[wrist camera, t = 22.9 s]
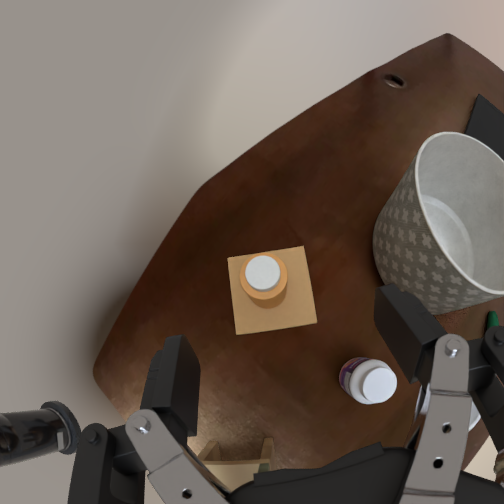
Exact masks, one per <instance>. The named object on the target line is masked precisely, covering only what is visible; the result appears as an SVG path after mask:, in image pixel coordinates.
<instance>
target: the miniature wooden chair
mask: <svg viewBox="0 0 504 504" xmlns="http://www.w3.org/2000/svg"><path fill="white" fill-rule="evenodd" d="M197 457H198V458H199V459H200V460H201V461H202V462H203V464H204V465H205V466H206V467H207V468H208V469H209V470H210V471H211V472H212V473H213V474H214V475H215V476H216V477H217V478H218V479H219V480H220V481H221V482H222V483H223V484H224V485H226V486H227V487H228V488H229V489H230V490H231V491H234V490H235V489H236V488H238V487H240V486H241V485H243V484H245V483H247V482H249V481H252V480H254V478H253V473H261V472H268V471H274V470H277V463H276V455H275V448H274V441H273V437H271V438H264V443H263V448H262V452H261V457H260V460H244V461H221V456H220V451H219V445H218V441H209V442H208V444H207V445H206V446H205V447H204V449H203V450H202V451H201V452H200V454H199V455H198V456H197Z"/></svg>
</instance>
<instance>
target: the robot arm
mask: <svg viewBox="0 0 504 504" xmlns="http://www.w3.org/2000/svg"><path fill="white" fill-rule="evenodd" d="M374 321H375V325H376V327H377V329H378V331H379V333H380V334H381V336H382V338H383V339H384V341H385V342H386V344H387V346H388V347H389V349H390V351H391V352H392V354H393V356H394V357H395V359H396V361H397V362H398V364H399V366H400V368H401V369H402V371H403V373H404V374H405V376H406V378H407V380H408V381H409V383H410V384H412V383H414V382H416V381H418V380H419V382H420V383H421V388H420V392H419V396H418V401H417V405H416V409H415V413H414V416H413V420H412V424H411V427H410V430H409V432H408V435H407V437H406V440H405V442H404V445H403V447H383V448H382V445H381V442H377V443H375V444H372V445H369V446H367V447H364V448H361V449H358V450H355V451H352V452H350V453H348V454H346V455H344V456H343V457H341V458H339V459H337V460H335V461H333V462H332V463H330V464H328V465H326V466H324V467H322V468H317V469H280V470H274V471H268V472H261V473H253V478H254V480H252V481H249V482H247V483H245V484H243V485H241V486H240V487H238V488H236V489H235V490H234V491H231V490H230V489H229V488H228V487H227V486H226V485H224V484H223V483H222V482H221V481H220V480H219V479H218V478H217V477H216V476H215V475H214V474H213V473H212V472H211V471H210V470H209V469H208V468H207V467H206V466H205V465H204V464H203V462H202V461H201V460H200V459H199V458H198V457H197V456H196V454H195V453H194V452H193V451H192V450H191V449H190V447H189V446H188V445H187V437H191V436H197V420H198V402H199V386H200V364H199V361H198V358H197V356H196V354H195V352H194V351H193V349H192V347H191V345H190V343H189V341H188V339H187V337H186V336H185V335H184V334H182V335H177V336H171V337H167V338H166V340H165V344H164V348H163V350H159V351H157V353H156V354H155V356H154V357H153V358H152V360H151V364H150V368H149V372H148V376H147V380H146V384H145V388H144V393H143V397H142V402H141V406H140V410H138V411H136V412H134V413H133V414H132V415H131V416H130V417H129V418H128V420H127V422H126V424H125V425H122V426H118V427H115V428H111V429H107V428H105V427H104V426H103V425H102V424H99V423H93V424H90V425H88V426H87V427H86V428H85V429H84V430H83V431H82V433H81V435H80V439H79V443H78V447H77V452H76V457H75V461H74V466H73V472H72V478H71V483H70V490H69V496H68V504H144V490H145V470H148V471H149V474H148V475H147V476H148V479H149V481H150V483H151V484H152V486H153V487H154V489H155V490H156V491H157V493H158V494H159V496H160V497H161V499H162V500H163V501H164V503H165V504H504V388H503V386H502V384H501V383H500V381H499V380H498V378H497V377H496V375H498V377H499V378H500V380H501V381H502V383H503V385H504V327H502V326H492V327H490V328H489V329H488V330H487V331H486V333H485V336H484V338H480V339H475V340H470V341H466V340H465V339H464V338H463V337H461V336H459V335H456V334H448V333H447V332H446V331H445V329H444V328H443V327H442V326H441V325H440V323H439V322H438V321H437V320H436V319H435V318H434V316H433V315H432V314H431V313H430V312H428V309H427V308H426V307H425V306H424V305H423V304H422V303H421V301H420V300H419V299H418V298H417V297H416V296H415V295H413V294H411V293H409V292H407V291H404V292H401V291H400V290H399V289H398V288H397V286H396V285H395V284H393V283H390V284H387V285H384V286H381V287H378V288H376V289H375V303H374ZM472 401H473V403H474V404H475V406H476V408H477V410H478V412H479V414H480V416H481V418H482V420H483V422H484V424H485V426H486V428H487V430H488V432H489V434H490V436H491V438H492V440H493V443H494V445H495V447H496V450H497V451H498V455H497V457H496V461H495V466H494V473H495V474H496V480H495V482H494V481H491V480H488V479H484V478H482V477H479V476H476V475H473V474H470V473H467V472H465V471H462V470H460V469H461V465H462V461H463V457H464V452H465V447H466V442H467V437H468V431H469V424H470V417H471V408H472ZM71 444H72V433H71V430H70V427H69V425H68V423H67V421H66V419H65V418H64V417H63V415H62V414H61V413H60V412H59V411H57V410H56V409H54V408H44V409H39V410H31V411H22V412H12V413H0V467H2V466H7V465H11V464H16V463H20V462H23V461H27V460H31V459H34V458H38V457H41V456H45V455H48V454H51V453H55V452H58V451H61V450H65V449H68V448H70V446H71Z"/></svg>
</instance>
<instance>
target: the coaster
mask: <svg viewBox="0 0 504 504" xmlns="http://www.w3.org/2000/svg"><path fill="white" fill-rule="evenodd" d="M263 253H270V254H273V255H276V256H277V257H279V258H280V259H281V260H282V261H283V262H284V264H285V266H286V268H287V272H288V282H287V292H286V296H285V299H284V300H283V302H282V303H281V304H280V305H278V306H276V307H274V308H271V309H264V308H261V307H258V306H257V305H255V304H254V303H253V302H252V300H251V299H250V298H249V296H248V295H247V293H246V292H245V291H244V289H243V288H242V286H241V283H240V270H241V268H242V266H243V264H244V262H245V261H246V260H247V259H248V258H250V257H251V256H253V255H255V254H250V255H244V256H237V257H231V258H228V267H229V276H230V285H231V294H232V302H233V311H234V319H235V328H236V335H241V334H249V333H256V332H264V331H271V330H277V329H284V328H290V327H297V326H302V325H308V324H314V323H317V317H316V311H315V305H314V299H313V294H312V288H311V282H310V277H309V271H308V266H307V261H306V256H305V251H304V246H301V247H295V248H288V249H282V250H276V251H269V252H263ZM256 254H258V253H256Z"/></svg>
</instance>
